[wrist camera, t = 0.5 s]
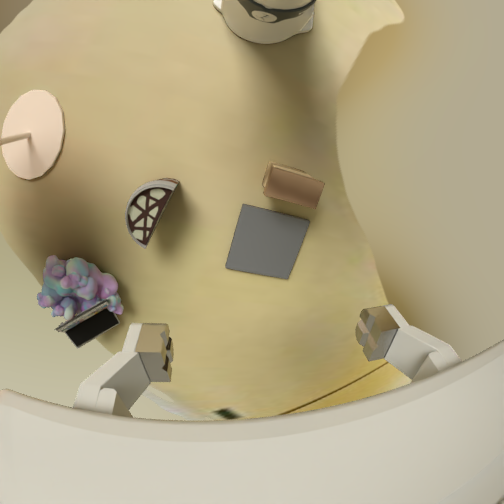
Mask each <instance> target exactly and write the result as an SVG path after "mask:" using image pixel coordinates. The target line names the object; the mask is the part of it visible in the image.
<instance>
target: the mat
mask: <svg viewBox="0 0 504 504" xmlns="http://www.w3.org/2000/svg"><path fill="white" fill-rule="evenodd" d="M309 223H310V221H309V220H307V219H303V218H299V217H295V216H291V215H287V214H283V213H279V212H275V211H271V210H267V209H263V208H259V207H255V206H251V205H246V204H243V205H242V208H241V212H240V215H239V219H238V222H237V226H236V229H235V233H234V237H233V240H232V244H231V247H230V251H229V255H228V258H227V262H226V268H228V269H234V270H239V271H244V272H250V273H255V274H261V275H266V276H272V277H278V278H283V279H288V277H289V275H290V272H291V270H292V267H293V265H294V262H295V260H296V257H297V255H298V252H299V249H300V247H301V244H302V242H303V239H304V237H305V234H306V231H307V229H308V226H309Z"/></svg>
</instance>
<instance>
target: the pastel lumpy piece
mask: <svg viewBox="0 0 504 504" xmlns="http://www.w3.org/2000/svg"><path fill="white" fill-rule="evenodd" d="M43 280H44V284H43V286H42V292H40V293H38V294H37V300H38V304H39V305H40V306H41V307H42V308H46V307H48V308H49V307H51V308H52V309H53V311H52V312H51V315H52V317H55V316H64V318H65V319H66V320H67V321H66V322H65V323H61V325H59V327H58V328H56V329H54V330H57V331H58V332H65V334H66V335H67V336H68V338H69V339H70V340H71V342H72V343H73V344H74V345H75V346H76V348H80V347H81V346H83V345H85V344H86V343H88V342H90V341H91V340H93V339H95V338H96V337H98V336H100V335H101V334H103V333H105V332H106V331H108V330H110V329H111V328H113V327H115V326H116V325H118V324H120V321H119V320H118V318H117V316H116V314H120V315H121V314H122V313H123V310H124V307H123V305H122V304H121V299H120V297H119V294H118V293H117V290H118V283H117V281H116V279H115V277H114V276H113V275H111V274H109V273H102V272H100V270H99V269H98V268H97V267H96V265H95V264H93V263H88V262H86V261H85V260H84V259H81V258H78V257H75V258H73V259H69V260H67V261H65V260H59V259H58V258H57V256H56V255H51V256H49V257H48V258H47V260H46V267H45V268H44V270H43ZM115 313H116V314H115ZM75 314H77V315H76V316H75Z"/></svg>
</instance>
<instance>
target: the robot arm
mask: <svg viewBox="0 0 504 504" xmlns="http://www.w3.org/2000/svg"><path fill="white" fill-rule="evenodd" d="M315 1H316V0H214V1H213V5H214V7H215V8H216V9H217V10H219V11H220V12H221V13H222V14H223V16H224V19H225V22H226V24H227V25H228V27H229V28H230V29H231V30H232V31H233V32H234V33H235V34H237V35H238V36H240V37H241V38H243V39H246V40H248V41H251V42H255V43H262V44H271V43H277V42H281V41H284V40H286V39H288V38H290V37H291V36H293V35H295V34H297V33H305V32H309V31H310V30H311V29H312V27H313V15H314V12H313V11H314V3H315ZM360 318H361V320H360V321H359V322H358V323H357V326H356V338H357V341H358V343H359V344H360V345H362V346H364V348H363V352H364V354H365V356H366V357H367V359H368V361H373V360H377V359H382V358H384V359H385V360H386V361H388V362H389V363H390V364H392V365H393V366H394V367H396V368H397V369H398V370H400V371H401V372H402V373H404V374H405V375H406V376H408V377H409V378H410V379H412V381H411V383H410V384H408V385H405V386H402V387H399V388H396V389H393V390H390V391H387V392H384V393H380V394H377V395H374V396H370V397H367V398H363V399H359V400H356V401H352V402H348V403H344V404H339V405H335V406H330V407H326V408H321V409H316V410H310V411H305V412H299V413H292V414H285V415H278V416H270V417H261V418H250V419H236V420H214V421H178V420H156V419H144V418H133V416H132V415H131V413H130V412H129V409H130V408H131V406H132V405H133V404H134V403H135V402H136V400H137V399H138V398H139V397H140V395H141V394H142V393H143V392H144V391H145V389H146V388H147V387H148V386H149V384H150V383H151V382H171V374H172V367H171V364H170V363H171V362H172V361H173V356H174V353H173V342H172V339H171V338H170V337H169V332H170V330H169V326H168V324H156V323H132V324H131V325H130V327H129V330H128V333H127V336H126V339H125V342H124V346H123V349H122V352H117V353H116V354H115V355H114V356H113V357H111V358H110V359H109V360H108V361H107V362H105V363H104V364H103V365H102V366H101V367H100V368H98V369H97V370H96V371H95V372H94V373H92V374H91V375H90V376H89V377H88V378H86V379H85V380H84V381H83V382H82V383H81V384H80V387H79V390H78V393H77V396H76V399H75V402H74V406H73V408H72V407H67V406H63V405H58V404H55V403H51V402H47V401H44V400H40V399H37V398H33V397H30V396H27V395H24V394H21V393H18V392H15V391H13V390H9V389H2V390H0V504H504V340H502V341H500V342H498V343H496V344H495V345H493V346H491V347H489V348H488V349H486V350H484V351H482V352H480V353H479V354H476V355H475V356H473V357H471V358H469V359H467V360H465V361H463V362H462V360H461V359H460V358H459V356H458V355H457V354H456V352H455V351H454V350H453V349H452V347H451V346H450V345H449V344H447V343H445V342H443V341H441V340H439V339H437V338H435V337H433V336H431V335H429V334H428V333H426V332H424V331H422V330H420V329H418V328H416V327H414V326H409V325H408V323H407V322H406V321H405V319H404V318H403V317H402V315H401V314H400V313H399V312H398V310H397V309H396V308H395V306H394V305H392V304H390V305H384V306H379V307H373V308H367V309H363V310H362V311H361V314H360Z"/></svg>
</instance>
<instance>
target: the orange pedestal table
mask: <svg viewBox="0 0 504 504" xmlns="http://www.w3.org/2000/svg"><path fill="white" fill-rule="evenodd" d="M64 133H65V125H64V113H63V110H62V108H61V106H60V104H59V102H58V99H57V98H56V97H55V96H53V95H52V94H51V93H49V92H48V91H47V90H31V91H29V92H27V93H25V94H23V95H22V96H20V97H19V98H18V100H17V101H16V102H15V103H14V104H13V105H12V106H11V108H10V110H9V112H8V114H7V117H6V119H5V121H4V125H3V131H2V137H1V138H0V146H1V145H2V151H3V156H4V158H5V161H6V163H7V165H8V167H9V169H10V170H11V171H12V172H13V173H14V174H15V175H16V176H18V177H20V178H24V179H28V180H30V179H33V178H36V177H39V176H42V175H43V174H44V173H46V172H47V171H48V170H49V169H50V168H51V167H52V166H53V165H54V163H55V161H56V159H57V157H58V155H59V153H60V151H61V149H62V143H63V138H64Z"/></svg>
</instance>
